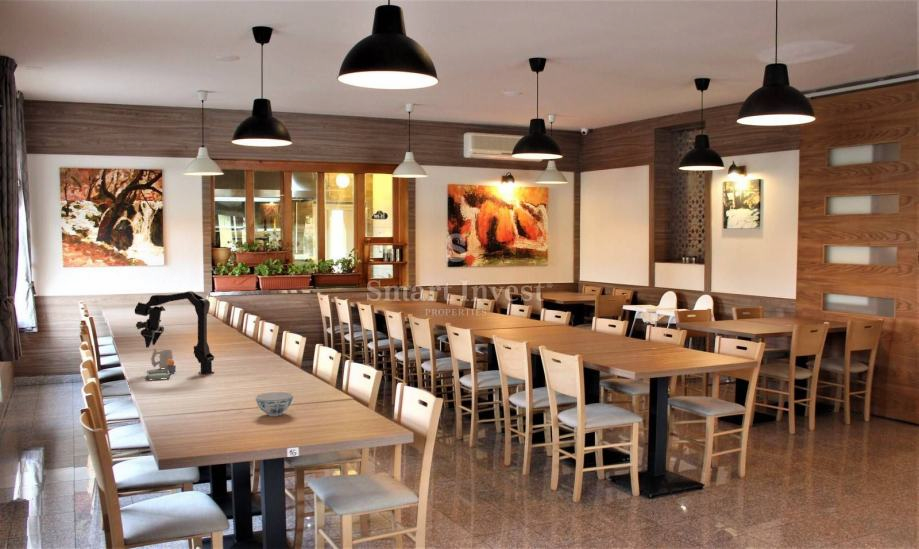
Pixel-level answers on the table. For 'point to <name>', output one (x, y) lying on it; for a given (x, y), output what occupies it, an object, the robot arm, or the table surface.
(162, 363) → the mug
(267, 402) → the chinaware
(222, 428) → the table surface
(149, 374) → the tray
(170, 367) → the cylinder with square socket
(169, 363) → the ball
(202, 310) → the robot arm
